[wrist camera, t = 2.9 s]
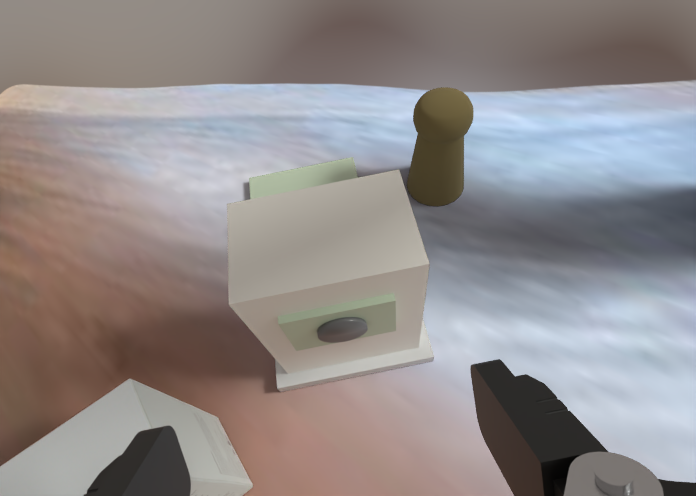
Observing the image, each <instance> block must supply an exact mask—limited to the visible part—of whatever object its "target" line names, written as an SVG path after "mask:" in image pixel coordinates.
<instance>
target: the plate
mask: <svg viewBox="0 0 696 496" xmlns="http://www.w3.org/2000/svg"><path fill="white" fill-rule="evenodd" d="M354 178H358V176H357V172H356V168H355V164H354V160H353V157H351V158H346V159H341V160H336V161H331V162H326V163H321V164H316V165H311V166H307V167H302V168H297V169H292V170H287V171H282V172H277V173H272V174H267V175H262V176H257V177H252V178H249V184H250V199H255V198H260V197H264V196H269V195H274V194H279V193H284V192H289V191H294V190H299V189H304V188H309V187H314V186H319V185H324V184H329V183H334V182H339V181H344V180H349V179H354Z"/></svg>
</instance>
